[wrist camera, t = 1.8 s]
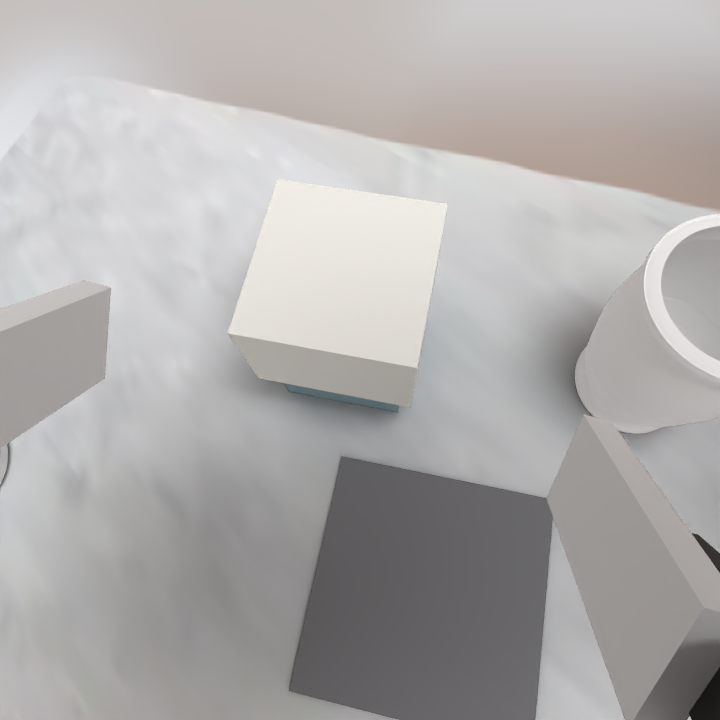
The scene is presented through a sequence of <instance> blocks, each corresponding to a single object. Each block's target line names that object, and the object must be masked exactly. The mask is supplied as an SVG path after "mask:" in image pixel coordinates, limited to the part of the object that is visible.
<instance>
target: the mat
mask: <svg viewBox="0 0 720 720" xmlns="http://www.w3.org/2000/svg"><path fill="white" fill-rule="evenodd" d="M552 519H553V516H552V513H551V510H550V507H549V504H548V501H547V498H542V497H537V496H532V495H527V494H522V493H518V492H513V491H508V490H503V489H498V488H493V487H488V486H483V485H479V484H474V483H469V482H464V481H459V480H454V479H449V478H445V477H440V476H435V475H430V474H425V473H420V472H415V471H411V470H406V469H401V468H396V467H391V466H386V465H381V464H377V463H372V462H367V461H362V460H357V459H352V458H347V457H342V458H341V462H340V467H339V471H338V476H337V480H336V485H335V489H334V494H333V498H332V502H331V507H330V511H329V516H328V520H327V525H326V529H325V534H324V538H323V543H322V547H321V551H320V556H319V560H318V565H317V569H316V574H315V578H314V583H313V587H312V591H311V596H310V600H309V605H308V609H307V614H306V618H305V623H304V627H303V632H302V636H301V640H300V645H299V649H298V654H297V658H296V663H295V667H294V672H293V676H292V681H291V685H290V689H289V691H291V692H295V693H299V694H303V695H306V696H310V697H314V698H318V699H322V700H326V701H329V702H333V703H337V704H341V705H345V706H349V707H353V708H356V709H360V710H364V711H368V712H372V713H376V714H379V715H383V716H387V717H391V718H395V719H399V720H535V717H536V705H537V694H538V682H539V670H540V659H541V647H542V636H543V624H544V612H545V601H546V589H547V577H548V566H549V554H550V543H551V531H552Z"/></svg>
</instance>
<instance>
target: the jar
mask: <svg viewBox="0 0 720 720" xmlns="http://www.w3.org/2000/svg"><path fill="white" fill-rule="evenodd" d="M575 384H576V388H577V392H578V395H579V397H580V399H581V401H582V403H583V404H584V406H585V407H586V409H587V410H588V411H589V412H590V413H591V414H592V415H593V416H594V417H596V418H599V419H603V420H607V421H611V422H612V423H613V424H614V425H615V427H616V428H617V430H618V431H621V432H626V433H637V434H638V433H648V432H652V431H655V430H658V429H660V428H662V427H672V426H678V425H683V424H688V423H696V422H702V421H707V420H711V419H715V418H718V417H720V214H713V215H706V216H701V217H697V218H694V219H691V220H689V221H686V222H684V223H682V224H680V225H678V226H676V227H675V228H673V229H672V230H671V231H669V232H668V233H667V234H666V235H665V236H664V237H663V238H662V239H661V240H660V241H659V242H658V243H657V244H656V245H655V246H654V248H653V249H652V250H651V252H650V253H649V255H648V256H647V258H646V260H645V262H644V264H643V266H641V267H640V268H639V269H638V270H636V271H635V272H634V273H633V274H632V275H631V276H630V277H629V278H627V279H626V280H625V281H624V282H623V284H622V285H621V286H620V287H619V288H618V289H617V290H616V291H615V293H614V294H613V295H612V297H611V298H610V299H609V301H608V302H607V304H606V306H605V307H604V309H603V311H602V313H601V315H600V317H599V319H598V321H597V323H596V326H595V328H594V330H593V332H592V334H591V337H590V339H589V342H588V345H587V346H586V347H585V349H584V350H583V351H582V353H581V354H580V356H579V358H578V361H577V364H576V368H575Z"/></svg>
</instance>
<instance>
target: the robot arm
mask: <svg viewBox="0 0 720 720" xmlns="http://www.w3.org/2000/svg"><path fill="white" fill-rule="evenodd" d="M110 295H111V288H110V287H107V286H103V285H99V284H96V283H92V282H88V281H81V282H78V283H75V284H72V285H69V286H66V287H64V288H61V289H58V290H55V291H52V292H49V293H46V294H43V295H40V296H38V297H35V298H32V299H29V300H26V301H23V302H20V303H17V304H14V305H11V306H9V307H6V308H3V309H0V448H2V447H3V446H5V445H6V444H8V443H9V442H11V441H12V440H14V439H15V438H17V437H18V436H19V435H21V434H22V433H24V432H25V431H27V430H28V429H30V428H31V427H33V426H34V425H36V424H37V423H39V422H40V421H42V420H43V419H45V418H46V417H48V416H49V415H51V414H52V413H54V412H55V411H57V410H58V409H60V408H61V407H63V406H64V405H66V404H67V403H69V402H70V401H72V400H73V399H75V398H76V397H78V396H79V395H81V394H82V393H84V392H85V391H87V390H88V389H90V388H91V387H92V386H94V385H95V384H97V383H98V382H100V381H101V380H103V379H104V378H105V367H106V352H107V338H108V324H109V309H110ZM547 501H548V504H549V507H550V510H551V513H552V516H553V518H554V521H555V524H556V527H557V530H558V532H559V535H560V538H561V541H562V544H563V546H564V549H565V552H566V555H567V558H568V560H569V563H570V566H571V569H572V572H573V575H574V577H575V580H576V583H577V586H578V589H579V591H580V594H581V597H582V600H583V603H584V605H585V608H586V611H587V614H588V617H589V620H590V622H591V625H592V628H593V631H594V634H595V636H596V639H597V642H598V645H599V648H600V650H601V653H602V656H603V659H604V662H605V664H606V667H607V670H608V673H609V676H610V679H611V681H612V684H613V687H614V690H615V693H616V695H617V698H618V701H619V704H620V707H621V709H622V712H623V715H624V718H625V720H687V719H688V718H689V716H690V717H691V719H692V720H720V553H718V552H717V551H716V550H715V549H714V548H713V547H712V546H710V545H709V544H708V543H707V542H706V541H705V540H704V539H702V538H701V537H700V536H699V535H697V534H693V533H691V532H690V531H689V529H688V528H687V526H686V525H685V524H684V522H683V521H682V519H681V518H680V517H679V515H678V514H677V512H676V511H675V510H674V508H673V507H672V505H671V504H670V503H669V501H668V500H667V498H666V497H665V496H664V494H663V493H662V491H661V490H660V489H659V487H658V486H657V484H656V483H655V482H654V480H653V479H652V477H651V476H650V474H649V473H648V472H647V470H646V469H645V467H644V466H643V465H642V463H641V462H640V460H639V459H638V458H637V456H636V455H635V453H634V452H633V451H632V449H631V448H630V446H629V445H628V444H627V442H626V441H625V439H624V438H623V437H622V435H621V434H620V432H619V431H618V430H617V428H616V427H615V425H614V424H613V423H612V422H611V421H607V420H603V419H599V418H596V417H592V416H588V415H583V417H582V419H581V422H580V424H579V426H578V428H577V431H576V433H575V435H574V438H573V440H572V442H571V444H570V447H569V449H568V451H567V453H566V456H565V458H564V460H563V462H562V465H561V467H560V469H559V471H558V474H557V476H556V478H555V481H554V483H553V485H552V487H551V490H550V492H549V494H548V496H547Z"/></svg>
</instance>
